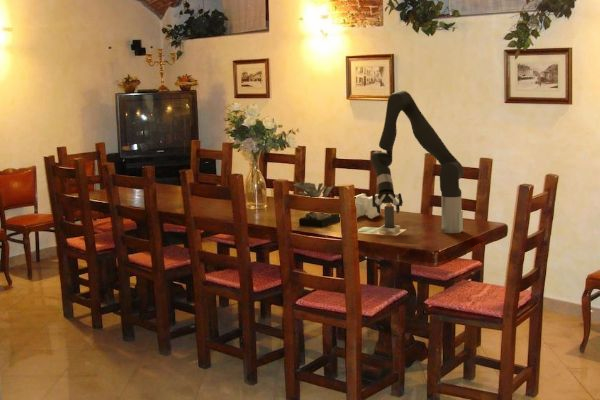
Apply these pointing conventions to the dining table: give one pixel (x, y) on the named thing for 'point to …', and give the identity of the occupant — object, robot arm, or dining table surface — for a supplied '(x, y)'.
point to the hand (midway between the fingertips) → (388, 212)
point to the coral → (312, 217)
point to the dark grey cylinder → (389, 216)
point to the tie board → (381, 230)
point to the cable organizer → (366, 206)
